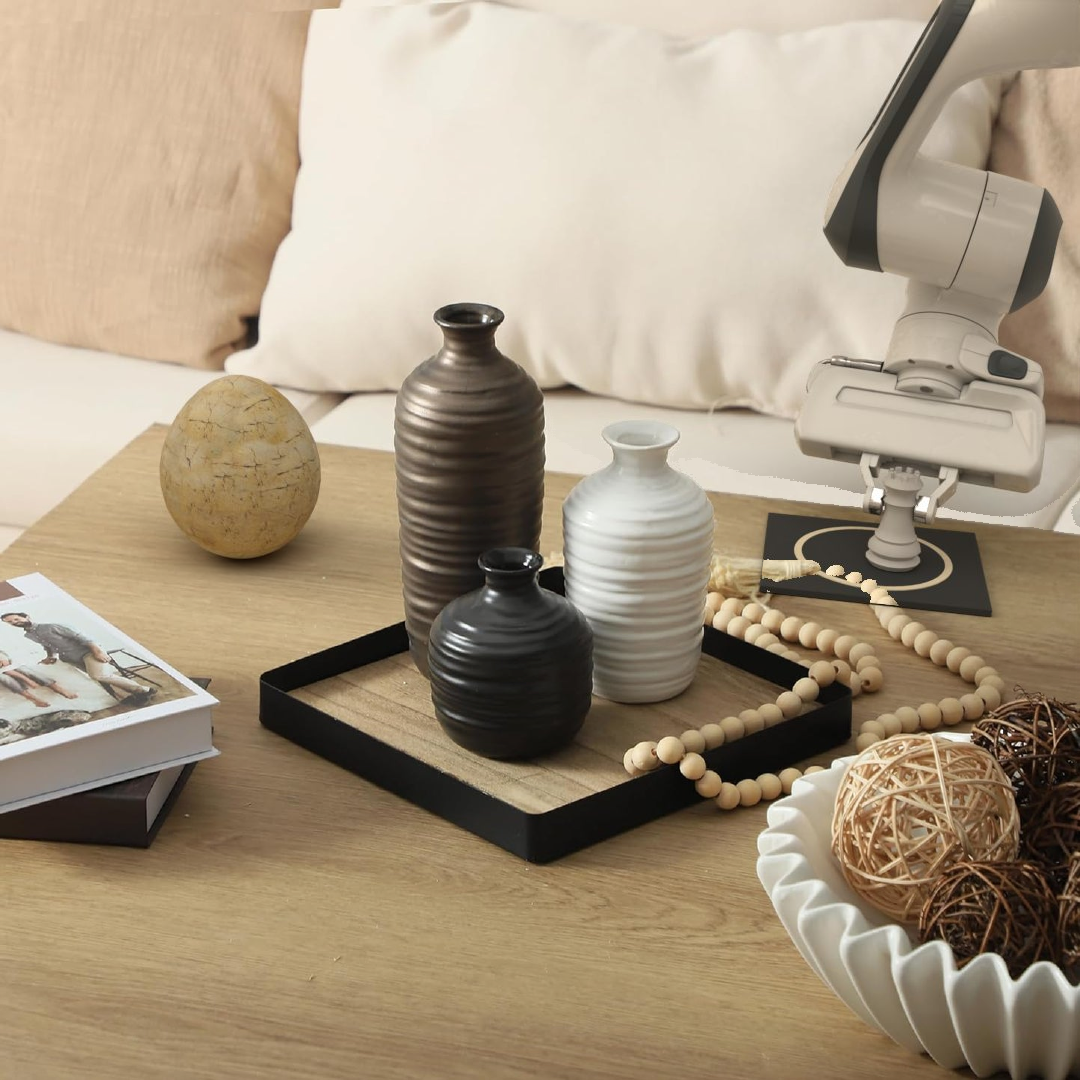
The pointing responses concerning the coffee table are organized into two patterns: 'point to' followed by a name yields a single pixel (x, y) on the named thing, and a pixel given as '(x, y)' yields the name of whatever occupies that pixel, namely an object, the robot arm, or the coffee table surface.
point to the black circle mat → (934, 584)
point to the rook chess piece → (897, 524)
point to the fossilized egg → (240, 468)
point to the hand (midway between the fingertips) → (897, 516)
